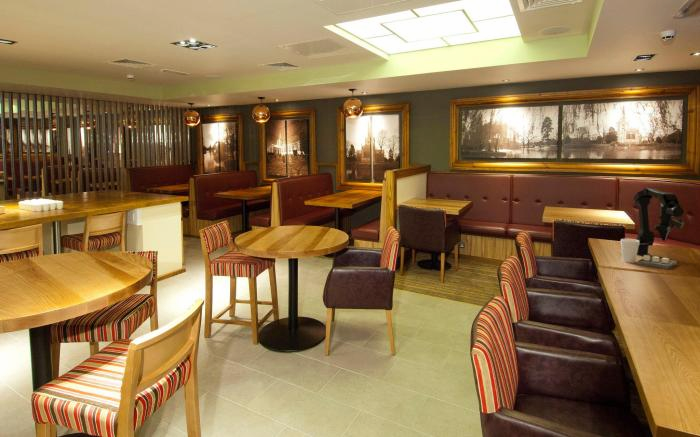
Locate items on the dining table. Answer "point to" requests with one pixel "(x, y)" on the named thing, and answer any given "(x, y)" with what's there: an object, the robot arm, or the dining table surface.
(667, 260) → the breaker
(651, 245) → the robot arm
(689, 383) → the dining table surface
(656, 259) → the breaker middle
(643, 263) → the breaker panel
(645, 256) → the breaker
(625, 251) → the foam cup
